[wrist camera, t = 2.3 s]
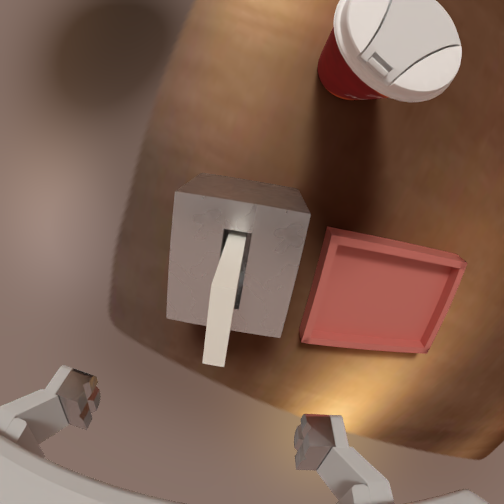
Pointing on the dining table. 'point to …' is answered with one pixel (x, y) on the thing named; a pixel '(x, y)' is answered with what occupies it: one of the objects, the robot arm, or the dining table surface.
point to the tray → (379, 293)
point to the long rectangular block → (223, 299)
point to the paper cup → (390, 50)
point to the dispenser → (255, 252)
